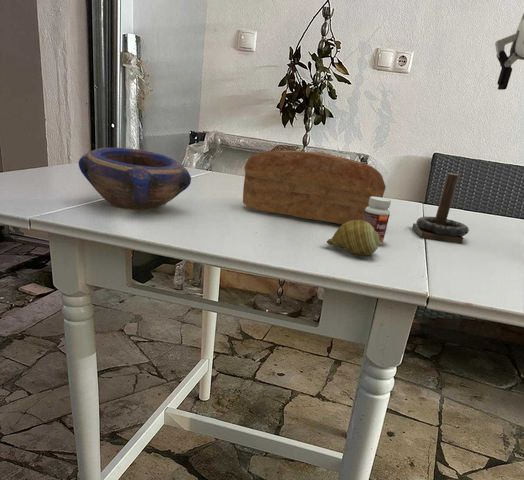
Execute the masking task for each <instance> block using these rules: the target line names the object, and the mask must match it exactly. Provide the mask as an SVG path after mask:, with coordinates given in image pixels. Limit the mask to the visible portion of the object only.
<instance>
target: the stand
mask: <svg viewBox="0 0 524 480" xmlns="http://www.w3.org/2000/svg"><path fill="white" fill-rule="evenodd" d="M459 178H460V174H457V173H452V172H448V173H447V174H446V178H445V182H444V185H443V188H442V192H441V196H440V199H439V203H438V206H437V211H436V214H435V217H436V218H435V221H434V223H435V224H439V225H444V226H445V224H446V220H447V219H448V216H449V212H450V210H451V205H452V202H453V199H454V195H455V192H456V188H457V185H458V181H459ZM411 229H412V230H413V231H414V232H415V233H416V234H417V235H418V236H419V237H420V238H421V239H428V240H434V241H442V242H449V243H455V244H456V243H457V244H463V242H464V236H462V237H452V236H445V235H439V234H435V233H431V232H428V231H425V230H423V229H420V228H419V227H418V226H417V224H416V222H413V224H412V227H411Z"/></svg>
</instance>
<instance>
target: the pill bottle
mask: <svg viewBox="0 0 524 480" xmlns="http://www.w3.org/2000/svg"><path fill="white" fill-rule="evenodd" d="M391 201H392V200H391V199H388V198H385V197H382V198H381V197H370V199H369V206H368V207H366V209H365V213H364V217H363V221H366V222H368V223H369V224H371V225H372V227H373V228H374V231H376V232H377V233H378V235H380V236H381V238H382V239H381V241H380V243H379V246H381V245H384V239H385V236H386V232H387V228H388V223H389V219H390V216H391V213H390V212H391V211H390V210H389V209H390V208H391Z"/></svg>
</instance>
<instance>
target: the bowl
mask: <svg viewBox="0 0 524 480" xmlns="http://www.w3.org/2000/svg"><path fill="white" fill-rule="evenodd" d="M78 168H79V170H80V173H81V174H82V175H83V177H84V178H85V179H86V180H87V181H88V182H89V184H90V185H91V186H92V187H93V189H94V190H95V191H96V192H97V193H98V194H99V195H100V196H101V197H102V198H103V199H104V200H105V201H106V202H107V203H108V204H109V205H110V206H111V207H113V208H115V209H119V210H125V211H151V210H158V209H160V208H161V207H163V206H164V205H165V206H166V205H167V204H168V203H170V201H172V200H174V199H175V198H176V197H177V196H179V195H180V194H181V193H182V192H184V191H185V190H187V189H188V188H189V186H190V185H191V182H192V176H191V174H190V172H189V171H188V169H187V168H186V167H185V166H184V165H183V164H181V162H179V161H177V160H175V159H174V158H172V157H169V156H167V155H165V154H162V153H157V152H152V151H147V150H143V149H139V148H128V147H99V148H96V149H93V150H90V151H88V152H87V153H85V154H84V155H82V156H81V157H79V159H78Z"/></svg>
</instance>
